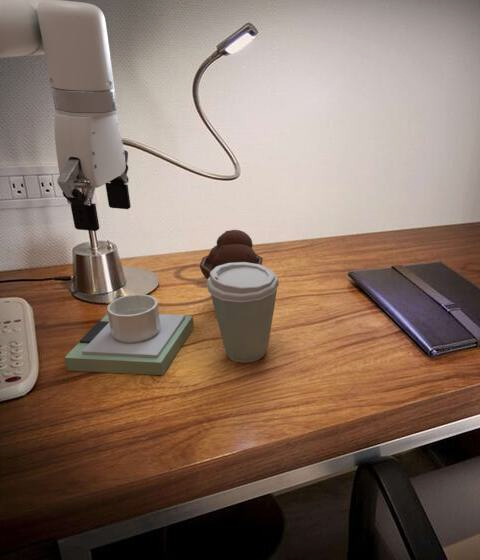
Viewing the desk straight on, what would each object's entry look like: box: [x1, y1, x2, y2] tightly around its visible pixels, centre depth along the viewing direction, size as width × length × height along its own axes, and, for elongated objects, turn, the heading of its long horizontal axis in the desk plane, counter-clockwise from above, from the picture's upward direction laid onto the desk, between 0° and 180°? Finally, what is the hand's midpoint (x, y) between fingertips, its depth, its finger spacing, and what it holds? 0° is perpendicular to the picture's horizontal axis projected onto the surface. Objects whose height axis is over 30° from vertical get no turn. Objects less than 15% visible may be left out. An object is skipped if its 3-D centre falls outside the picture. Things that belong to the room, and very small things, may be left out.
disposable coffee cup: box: [206, 262, 280, 364], centre depth 83 cm, size 11×11×15 cm
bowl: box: [106, 293, 161, 343], centre depth 83 cm, size 7×7×5 cm
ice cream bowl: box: [199, 229, 264, 281], centre depth 96 cm, size 11×11×15 cm
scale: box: [64, 313, 195, 376], centre depth 85 cm, size 14×14×3 cm
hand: (104, 218), depth 80 cm, fingers open, 9 cm apart
